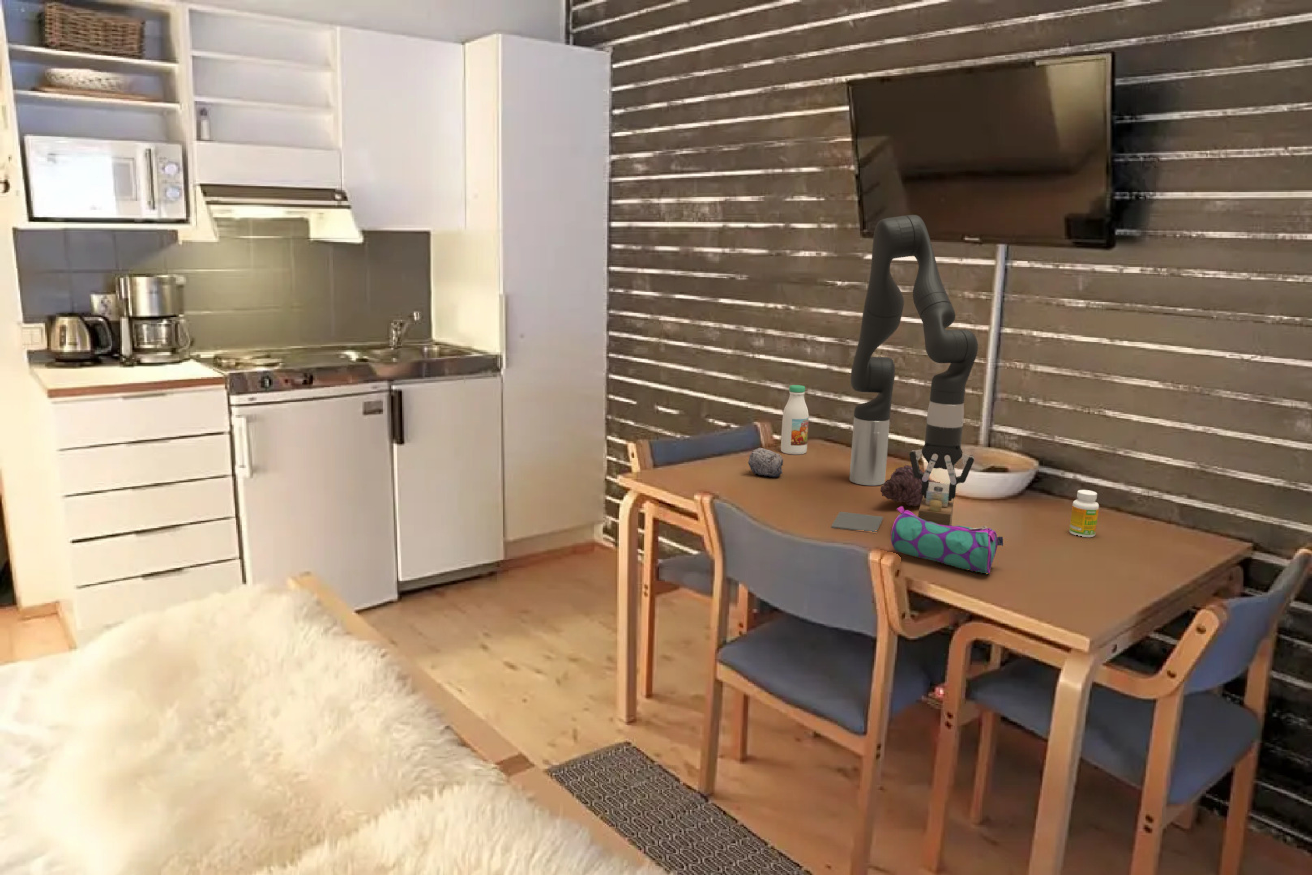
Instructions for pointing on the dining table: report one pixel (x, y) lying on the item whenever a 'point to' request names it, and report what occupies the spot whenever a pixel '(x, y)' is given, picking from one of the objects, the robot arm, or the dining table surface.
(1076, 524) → the supplement bottle
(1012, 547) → the dining table surface
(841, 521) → the mat
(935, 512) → the body
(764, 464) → the pumice stone
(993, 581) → the dining table surface
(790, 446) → the milk bottle
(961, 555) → the pencil case
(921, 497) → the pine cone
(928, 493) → the lever cap
